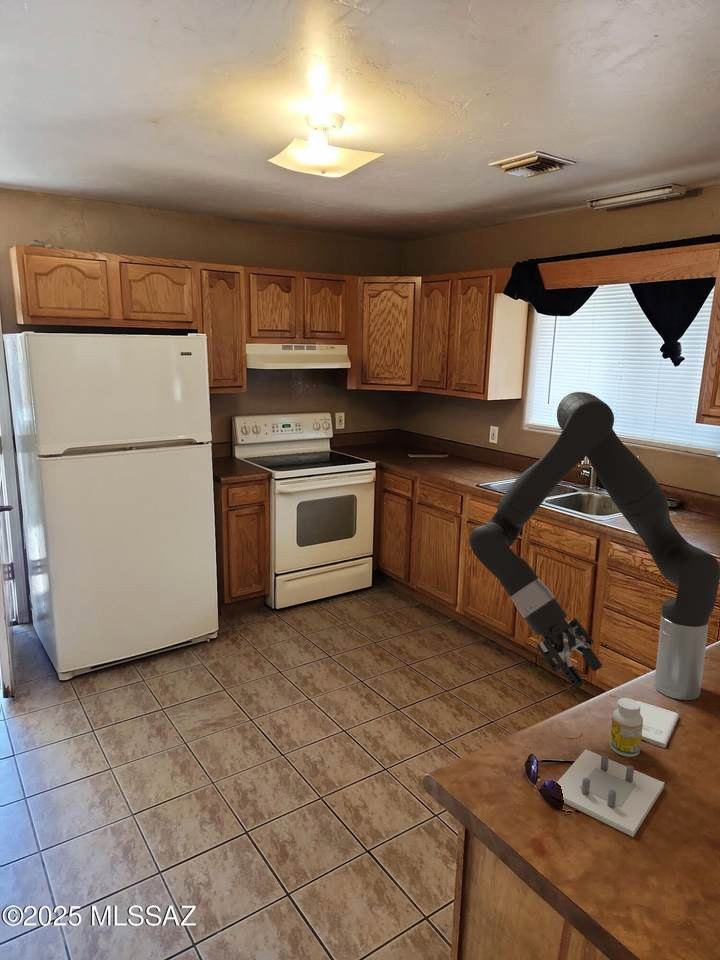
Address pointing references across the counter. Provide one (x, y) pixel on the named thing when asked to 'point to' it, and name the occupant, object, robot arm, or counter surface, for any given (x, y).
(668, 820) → the counter surface
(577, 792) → the pin tray
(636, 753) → the supplement bottle
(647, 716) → the external hard drive
